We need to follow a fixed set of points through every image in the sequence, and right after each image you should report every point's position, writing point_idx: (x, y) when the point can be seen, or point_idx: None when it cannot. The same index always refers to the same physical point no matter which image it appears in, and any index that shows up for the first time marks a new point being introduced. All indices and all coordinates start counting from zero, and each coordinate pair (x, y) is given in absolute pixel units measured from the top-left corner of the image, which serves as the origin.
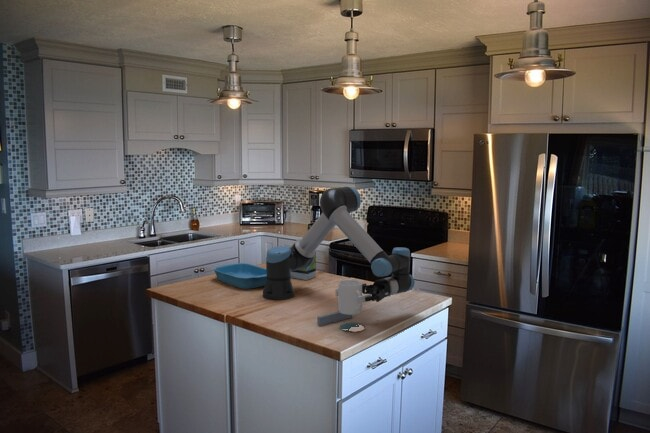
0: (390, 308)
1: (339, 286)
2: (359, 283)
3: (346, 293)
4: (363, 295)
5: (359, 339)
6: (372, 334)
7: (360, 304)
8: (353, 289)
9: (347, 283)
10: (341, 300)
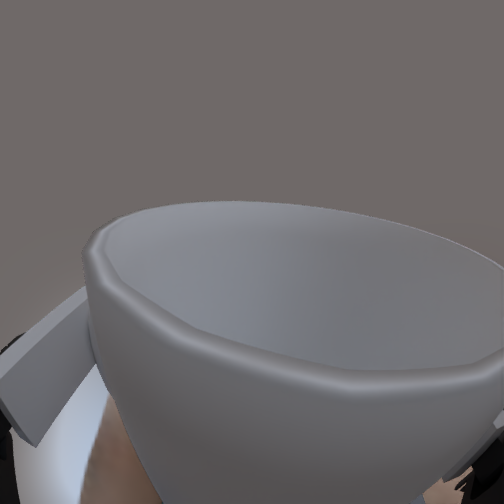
0: None
1: (337, 235)
2: (334, 429)
3: (234, 280)
4: (58, 319)
5: (114, 426)
6: (90, 498)
7: (101, 375)
8: (171, 247)
9: (491, 333)
10: (279, 343)
